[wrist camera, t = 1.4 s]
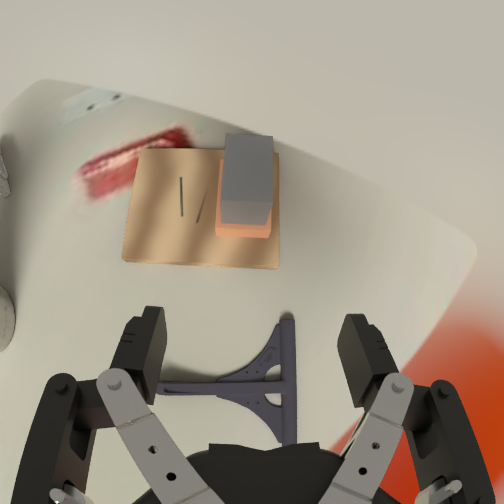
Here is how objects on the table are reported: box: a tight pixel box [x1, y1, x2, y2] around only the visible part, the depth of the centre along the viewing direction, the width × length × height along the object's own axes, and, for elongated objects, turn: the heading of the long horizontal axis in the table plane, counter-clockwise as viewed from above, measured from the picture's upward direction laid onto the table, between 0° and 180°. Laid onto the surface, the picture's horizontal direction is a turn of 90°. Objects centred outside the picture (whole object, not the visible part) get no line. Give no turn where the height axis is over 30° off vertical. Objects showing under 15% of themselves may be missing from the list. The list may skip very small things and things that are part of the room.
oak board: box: [122, 148, 279, 269], centre depth 35 cm, size 17×14×2 cm
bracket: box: [156, 320, 297, 447], centre depth 30 cm, size 14×15×3 cm
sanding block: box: [215, 133, 273, 238], centre depth 31 cm, size 6×8×8 cm
